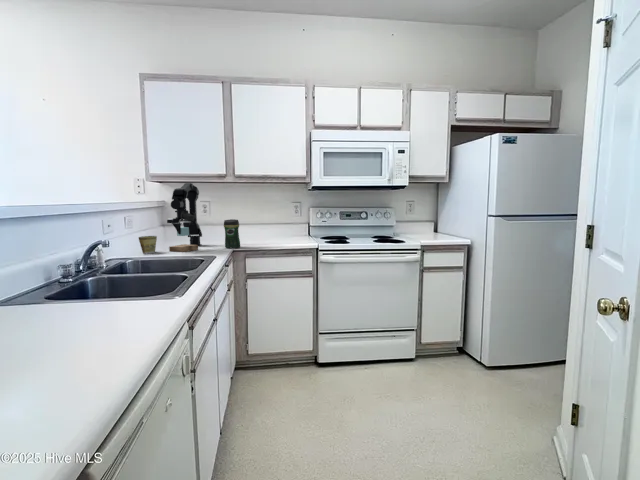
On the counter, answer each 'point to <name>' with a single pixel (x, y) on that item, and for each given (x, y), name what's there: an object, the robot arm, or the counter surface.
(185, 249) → the walnut plinth
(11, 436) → the counter surface
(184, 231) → the teal cube
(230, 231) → the coffee jar
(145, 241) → the ceramic cup
